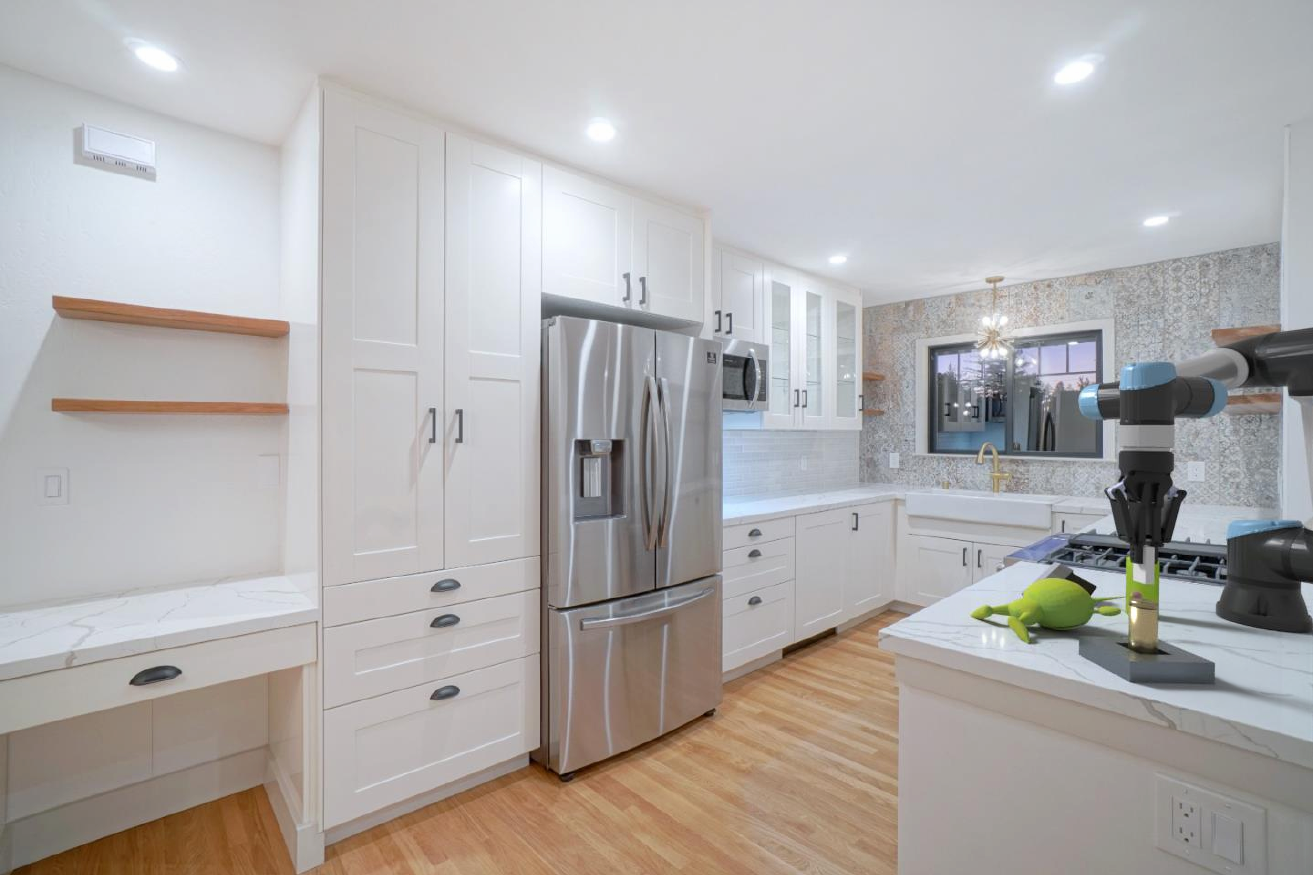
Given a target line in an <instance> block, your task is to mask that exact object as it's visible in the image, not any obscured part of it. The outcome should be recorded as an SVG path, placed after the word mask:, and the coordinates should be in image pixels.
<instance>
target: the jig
mask: <svg viewBox="0 0 1313 875" xmlns="http://www.w3.org/2000/svg"><path fill="white" fill-rule="evenodd" d="M1078 655H1079V656H1080V655H1081V656H1080V657H1083V658H1085V659H1086V660H1089V661H1090V662H1092V663H1093V662H1094V663H1093V664H1095V663H1096V664H1095V665H1097V664H1098V665H1097V666H1099V667H1101V666H1102V667H1101V668H1102V669H1105V670H1106V671H1109V672H1111V673H1112V674H1114V673H1115V674H1114V675H1116V674H1117V675H1116V676H1118V677H1120V678H1122V679H1124V680H1125V681H1127V682H1130V683H1160V682H1169V683H1171V684H1172V683H1173V684H1210V685H1211V684H1213V685H1215V683H1216V682H1215V681H1216V677H1215V676H1216V662H1214V661H1211V660H1210V659H1207V658H1204V657H1203V656H1199V655H1198V654H1194V653H1193V652H1190V651H1187V650H1185V649H1182V648H1180V647H1178V646H1175V645H1174V644H1171V643H1169V642H1166V641H1163V640H1161V639H1159V638H1158V655H1149V654H1138V653H1136V652H1134V651H1132V650H1129V649H1128V636H1090V635H1086V636H1085V635H1084V636H1083V635H1081V636H1080V635H1079V636H1078ZM1169 683H1168V684H1169Z"/></svg>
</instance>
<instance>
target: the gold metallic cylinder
mask: <svg viewBox="0 0 1313 875" xmlns="http://www.w3.org/2000/svg"><path fill="white" fill-rule="evenodd" d="M1127 637H1128V649H1129V650H1132V651H1134V652H1136V653H1138V654H1149V655H1158V639H1159V618H1158V602H1156V601H1152V600H1148V599H1142V598H1129V615H1128V635H1127Z"/></svg>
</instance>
